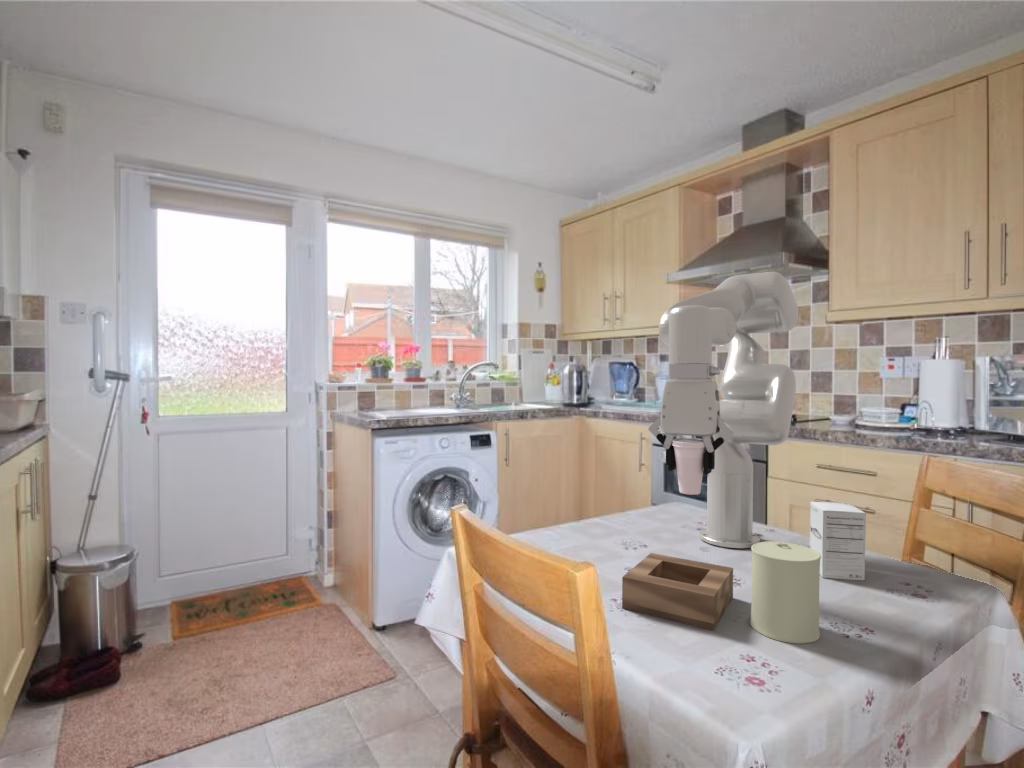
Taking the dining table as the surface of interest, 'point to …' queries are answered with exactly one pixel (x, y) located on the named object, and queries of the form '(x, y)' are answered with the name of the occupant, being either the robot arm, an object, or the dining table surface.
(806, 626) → the can
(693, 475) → the smoothie
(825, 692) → the dining table surface
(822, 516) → the supplement box
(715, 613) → the socket block
